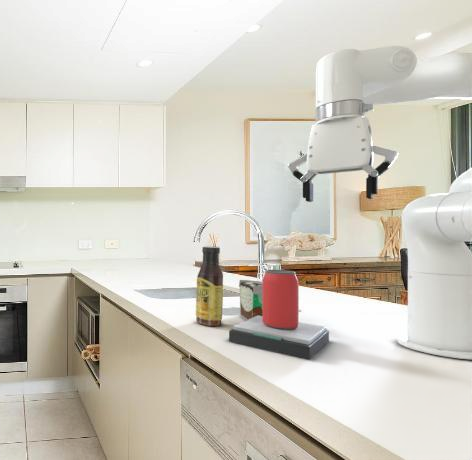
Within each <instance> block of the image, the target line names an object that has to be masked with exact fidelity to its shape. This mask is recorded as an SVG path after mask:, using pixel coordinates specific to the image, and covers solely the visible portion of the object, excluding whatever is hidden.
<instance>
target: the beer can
mask: <svg viewBox="0 0 472 460" xmlns="http://www.w3.org/2000/svg"><path fill="white" fill-rule="evenodd" d="M296 274H297V273H296V271H293V270H285V269H266V270H265V273H264V274H263V278H262V282H263V316H262V321H263V323H264V324H265V325H266V326H269V327H272V328H276V329H284V330H292V329H296V328H297V327H298V322H299V299H300V298H299V297H300V296H299V291H300V289H299V288H300V287H299V286H300V285H299V284H300V283H299V279H298V277H297V275H296Z"/></svg>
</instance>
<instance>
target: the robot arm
mask: <svg viewBox="0 0 472 460" xmlns="http://www.w3.org/2000/svg"><path fill="white" fill-rule="evenodd" d="M431 99H457V100H458V99H459V100H460V99H461V100H472V52H460V51H459V52H449V53H444V54H439V55H436V56H433V57H429V58H426V59H423V60H420V61H418V58H417V55H416V54H415V52H414V51H413V50H412V49H410V48H408V47H405V46H402V45H387V46H382V47H381V46H380V47H375V48H368V49H362V50H361V49H360V50H359V49H355V48H346V49H345V48H344V49H340V50H335V51H332V52H330V53H328V54H325V55H324V56H322V57H321V58H320V59H319V60H318V61H317V63H316V66H315V123H314V124H312V125H311V128H310V132H309V137H308V143H307V152H306V154H304V155H302V156H300V157H299V158H297V159H295V160H293V161H291V162H290V163H288V164H287V168H288V169H289V171H290V172H291V173H292V176H293V177H294V178H296V179H297V180H298V181H300V183H302V198H303V199H305V202H307V203H312V202H314V183H312V180H313V179H314V178H316V176H317V175H327V174H337V173H338V174H339V173H348V172H360V171H364V172H365V173H366V174H367V177H366V178H365V197H366V199H369V200H374V195H378V192H379V191H378V188H379V184H378V183H379V179H378V178H380V176H381V175H383V174H384V173H385V172H387V171H388V170H389V169H390V168H391V167H392V165H393V164H394V162H395V160H396V159H397V158H398V155H399V153H398V152H397V151H396V150H392V149H388V148H384V147H380V146H376V145H373V135H372V127H371V123H370V119H369V118H368V117H367V116H365V115H366V113H368V112H373V111H374V106H375V105H388V104H397V103H407V102H417V101H423V100H424V101H425V100H431ZM374 155H378V156H382V157H384V160H383V161H382V163H380V164H379V165H378V166H377V167H376V168H374V167H373V163H374ZM305 163H306V168H307V171H306V172H305V173H304V174H303V173H302V172H301V171H300V169H299V167H300V166H302V165H304V164H305ZM400 219H401V220H400V221H401V226H402V231H403V233H404V234H403V235H404V238H405V242H406V249H407V334H401V335H399V336H397V339H396V340H397V341H396V342H397V343H398V344H399V345H401V346H402V347H405V348H406V349H411V350H413V351H417V352H421V353H424V354H430V355H434V356H440V357H445V358H452V359H460V360H470V361H471V360H472V251H471V249H470V248H469V247H468V245H467V244H466V243H465V242H471V243H472V167H470V168H469V169H467V170H466V171H464V172H462V173H461V174H460V175H459V176H458V177H457V178H455V179H454V180H453V181H452V183H451V185H450V186H449V189H448V192H447V193H445V192H444V193H436V194H435V193H434V194H429V195H425V196H421V197H418V198H416V199H414V200H412V201H410V202H409V203H408V204H407V205H405V207H404V209H402V213H401V217H400Z"/></svg>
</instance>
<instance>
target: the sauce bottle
mask: <svg viewBox="0 0 472 460" xmlns="http://www.w3.org/2000/svg"><path fill="white" fill-rule="evenodd" d="M201 251H202V263H201V266H200V269H199V271H198V273H197V277H196V294H195V295H196V297H195V316H196V317H195V319H196V323H198V324H200V325H203V326H206V327H216V326H217V327H218V326H221V325H222V321H223V320H222V319H223V307H224V304H223V303H224V273H223V271H222V269H221V268H220V261H219V258H220V257H219V256H220V252H221V248H220V247H219V246H211V245H206V246H205V245H203V246H202V250H201Z"/></svg>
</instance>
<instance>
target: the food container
mask: <svg viewBox="0 0 472 460" xmlns="http://www.w3.org/2000/svg"><path fill="white" fill-rule="evenodd" d="M238 287H239V311H240V312H239V314H240V315H239V316H240V317H241V318H243V319H244V320H245V321H246V320H249V319H251V318H253V317H255V316H263V281H257V280H250V279H239V281H238Z"/></svg>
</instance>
